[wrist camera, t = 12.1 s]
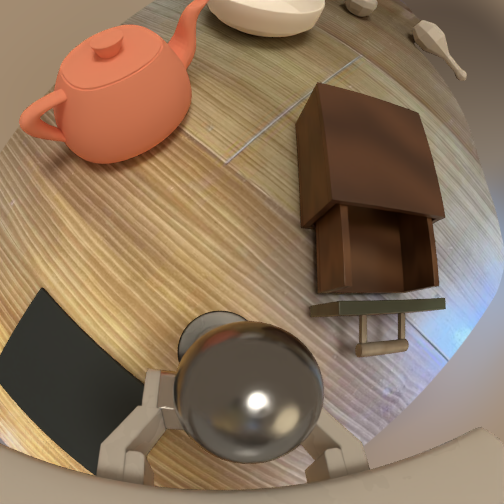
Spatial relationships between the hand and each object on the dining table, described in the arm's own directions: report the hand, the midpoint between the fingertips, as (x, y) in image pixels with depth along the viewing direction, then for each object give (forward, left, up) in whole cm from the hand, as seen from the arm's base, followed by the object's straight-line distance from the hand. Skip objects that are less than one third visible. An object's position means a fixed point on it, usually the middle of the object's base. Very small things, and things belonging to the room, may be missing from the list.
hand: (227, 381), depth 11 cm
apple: (+18, -72, -19) cm, 77 cm away
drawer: (-9, -16, -18) cm, 26 cm away
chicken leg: (-4, -80, -19) cm, 83 cm away
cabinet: (-2, -26, -19) cm, 33 cm away
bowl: (+27, -45, -19) cm, 56 cm away
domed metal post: (0, -1, -5) cm, 5 cm away
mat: (+8, +15, -19) cm, 26 cm away
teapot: (+26, -15, -19) cm, 36 cm away
